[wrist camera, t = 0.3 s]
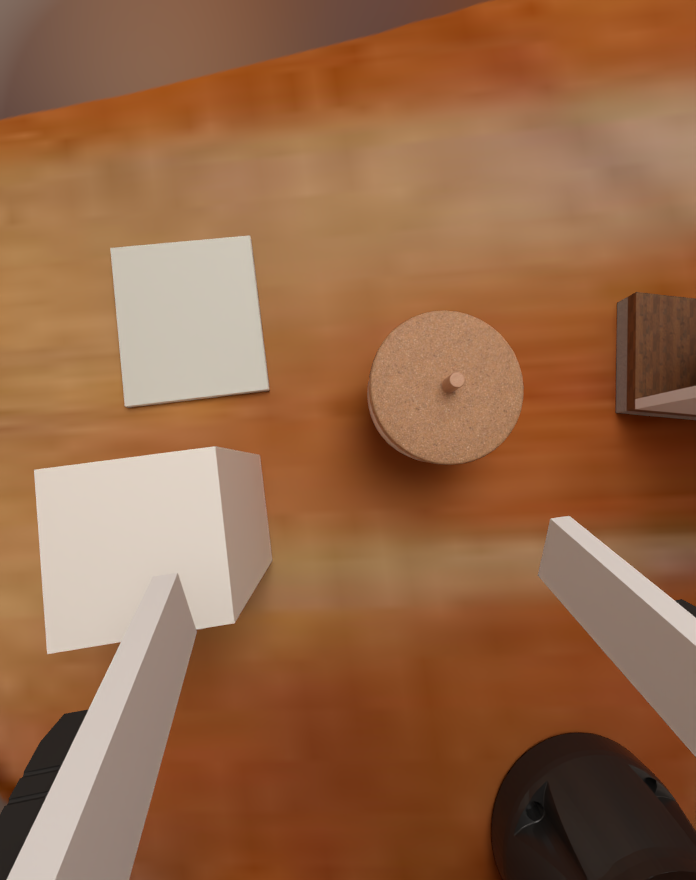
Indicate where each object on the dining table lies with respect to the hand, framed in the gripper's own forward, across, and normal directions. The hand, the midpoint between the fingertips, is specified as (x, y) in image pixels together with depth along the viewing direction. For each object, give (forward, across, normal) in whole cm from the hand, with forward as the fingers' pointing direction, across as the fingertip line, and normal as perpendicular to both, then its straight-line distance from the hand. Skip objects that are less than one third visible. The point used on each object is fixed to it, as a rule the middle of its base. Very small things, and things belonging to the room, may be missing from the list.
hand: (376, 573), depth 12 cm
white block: (+17, +10, +8) cm, 21 cm away
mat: (+25, +11, -7) cm, 28 cm away
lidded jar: (+20, -8, +1) cm, 21 cm away
